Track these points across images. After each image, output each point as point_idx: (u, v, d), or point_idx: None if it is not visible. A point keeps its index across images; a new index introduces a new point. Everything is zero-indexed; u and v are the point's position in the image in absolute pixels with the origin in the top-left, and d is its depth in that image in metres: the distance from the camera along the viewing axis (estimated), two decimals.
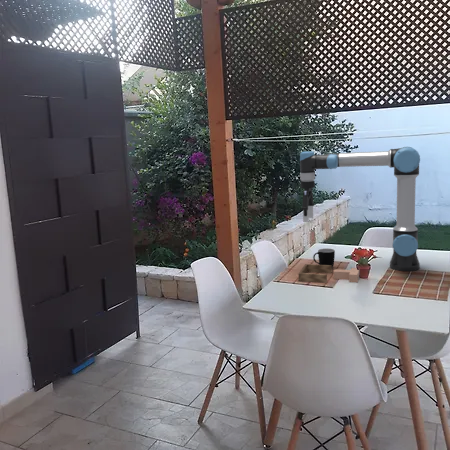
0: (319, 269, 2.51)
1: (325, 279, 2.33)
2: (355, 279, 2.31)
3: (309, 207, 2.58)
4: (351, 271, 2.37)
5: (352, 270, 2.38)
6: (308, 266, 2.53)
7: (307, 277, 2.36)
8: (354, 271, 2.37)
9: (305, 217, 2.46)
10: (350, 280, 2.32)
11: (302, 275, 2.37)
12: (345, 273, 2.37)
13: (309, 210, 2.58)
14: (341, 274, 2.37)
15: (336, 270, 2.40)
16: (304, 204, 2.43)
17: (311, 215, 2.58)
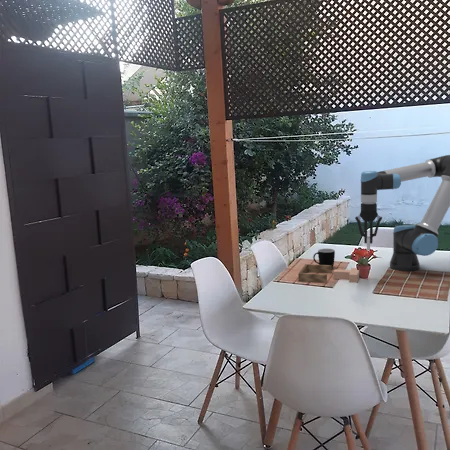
0: (319, 269, 2.51)
1: (325, 279, 2.33)
2: (355, 279, 2.31)
3: None
4: (351, 271, 2.37)
5: (352, 270, 2.38)
6: (308, 266, 2.53)
7: (307, 277, 2.36)
8: (354, 271, 2.37)
9: None
10: (350, 280, 2.32)
11: (302, 275, 2.37)
12: (345, 273, 2.36)
13: None
14: (341, 274, 2.37)
15: (336, 270, 2.40)
16: (360, 231, 2.32)
17: None
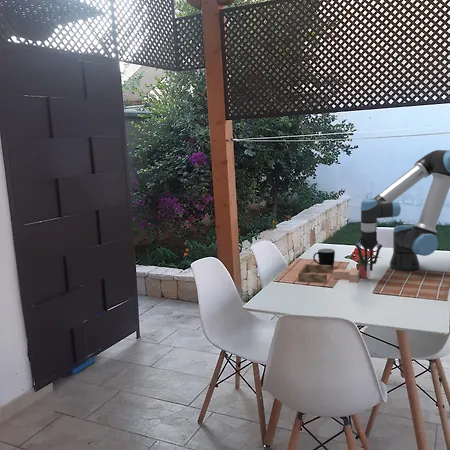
0: (319, 269, 2.51)
1: (325, 279, 2.33)
2: (355, 279, 2.31)
3: None
4: (351, 271, 2.37)
5: (352, 270, 2.38)
6: (308, 266, 2.53)
7: (307, 277, 2.36)
8: (354, 271, 2.37)
9: None
10: (350, 280, 2.32)
11: (302, 275, 2.37)
12: (345, 273, 2.36)
13: None
14: (341, 274, 2.37)
15: (336, 270, 2.40)
16: (360, 258, 2.35)
17: None
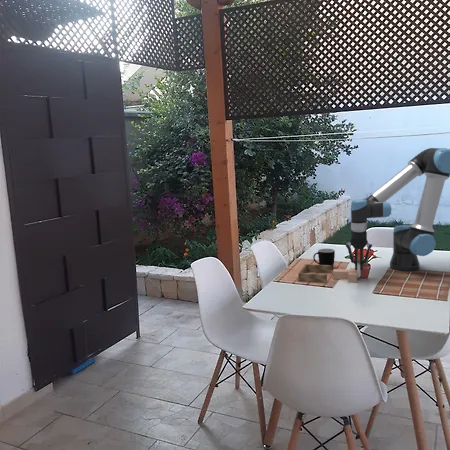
0: (319, 269, 2.51)
1: (325, 279, 2.33)
2: (354, 279, 2.31)
3: None
4: (350, 271, 2.37)
5: (351, 270, 2.39)
6: (308, 266, 2.53)
7: (307, 277, 2.36)
8: (353, 270, 2.37)
9: (357, 271, 2.36)
10: (349, 280, 2.32)
11: (302, 275, 2.37)
12: (344, 273, 2.37)
13: None
14: (340, 274, 2.37)
15: (335, 270, 2.40)
16: None
17: None
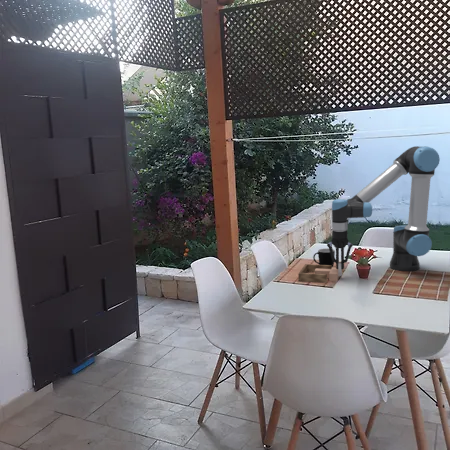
0: None
1: (325, 279, 2.33)
2: (335, 278, 2.35)
3: None
4: (332, 270, 2.40)
5: (333, 269, 2.42)
6: (308, 266, 2.53)
7: (307, 277, 2.36)
8: (334, 270, 2.41)
9: None
10: (330, 279, 2.36)
11: (302, 275, 2.37)
12: (326, 272, 2.40)
13: None
14: (322, 273, 2.41)
15: (317, 269, 2.43)
16: None
17: None
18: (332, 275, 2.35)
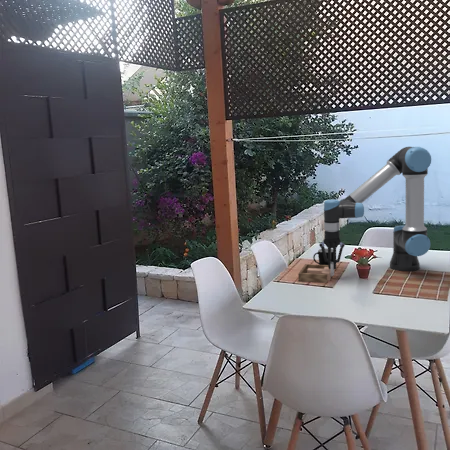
0: None
1: (325, 279, 2.33)
2: (327, 277, 2.36)
3: None
4: (324, 270, 2.42)
5: (325, 269, 2.43)
6: (308, 266, 2.53)
7: (307, 277, 2.36)
8: (327, 269, 2.42)
9: None
10: None
11: (302, 275, 2.37)
12: (318, 272, 2.41)
13: None
14: (314, 273, 2.42)
15: (309, 269, 2.45)
16: None
17: None
18: None
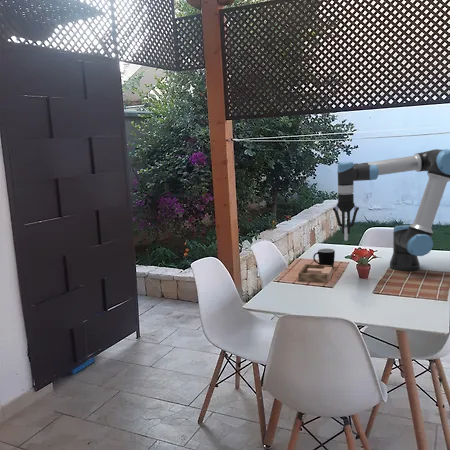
0: None
1: (325, 279, 2.33)
2: (327, 278, 2.36)
3: None
4: (324, 270, 2.42)
5: (325, 269, 2.43)
6: (308, 266, 2.53)
7: (307, 277, 2.36)
8: (327, 269, 2.42)
9: None
10: None
11: (302, 275, 2.37)
12: (318, 272, 2.41)
13: None
14: (314, 273, 2.42)
15: (309, 269, 2.45)
16: None
17: None
18: None
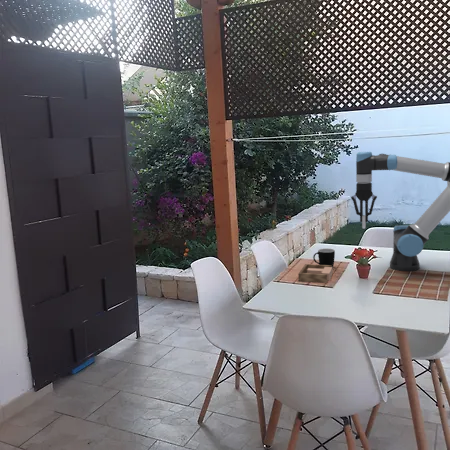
0: None
1: (325, 279, 2.33)
2: (327, 278, 2.36)
3: None
4: (324, 270, 2.42)
5: (325, 269, 2.43)
6: (308, 266, 2.53)
7: (307, 277, 2.36)
8: (327, 269, 2.42)
9: (362, 223, 2.41)
10: None
11: (302, 275, 2.37)
12: (318, 272, 2.41)
13: None
14: (314, 273, 2.42)
15: (309, 269, 2.45)
16: None
17: None
18: None
